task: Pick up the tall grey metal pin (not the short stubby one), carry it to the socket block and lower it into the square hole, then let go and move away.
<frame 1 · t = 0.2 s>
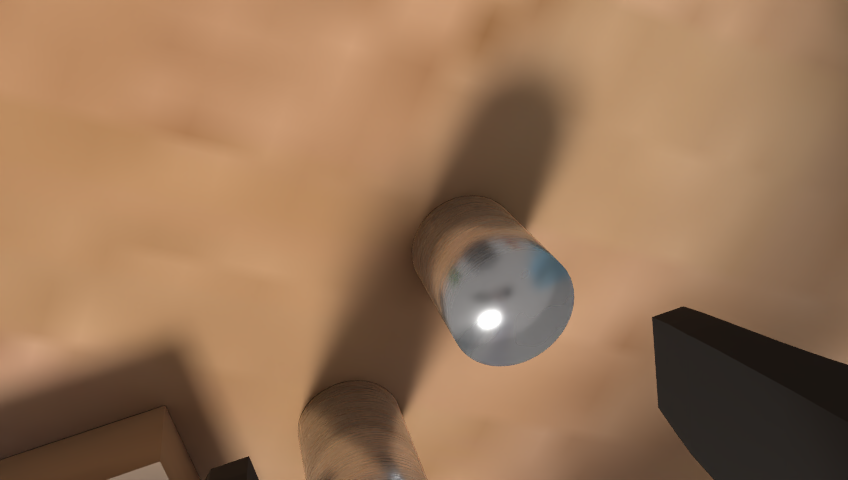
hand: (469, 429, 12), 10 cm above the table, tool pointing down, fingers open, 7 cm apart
short pin: (465, 247, 22), on the table
long pin: (350, 424, 23), on the table
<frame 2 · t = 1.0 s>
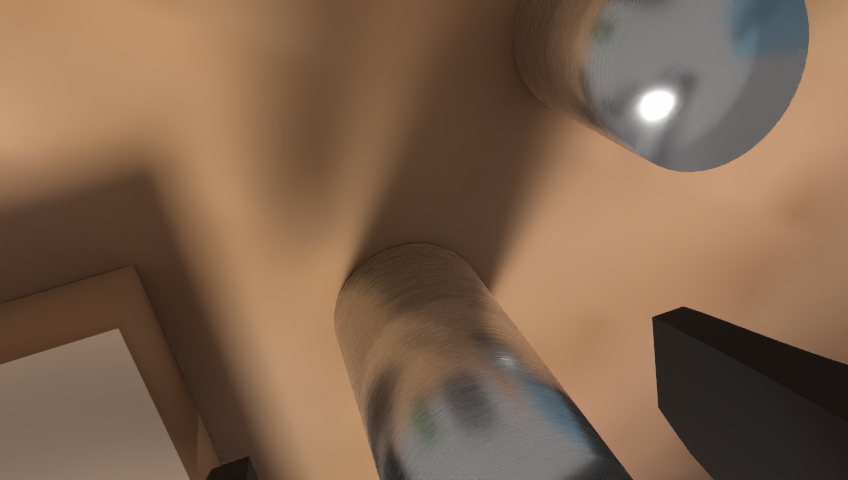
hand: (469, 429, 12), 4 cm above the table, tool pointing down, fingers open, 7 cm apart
short pin: (591, 32, 15), on the table
long pin: (410, 313, 16), on the table
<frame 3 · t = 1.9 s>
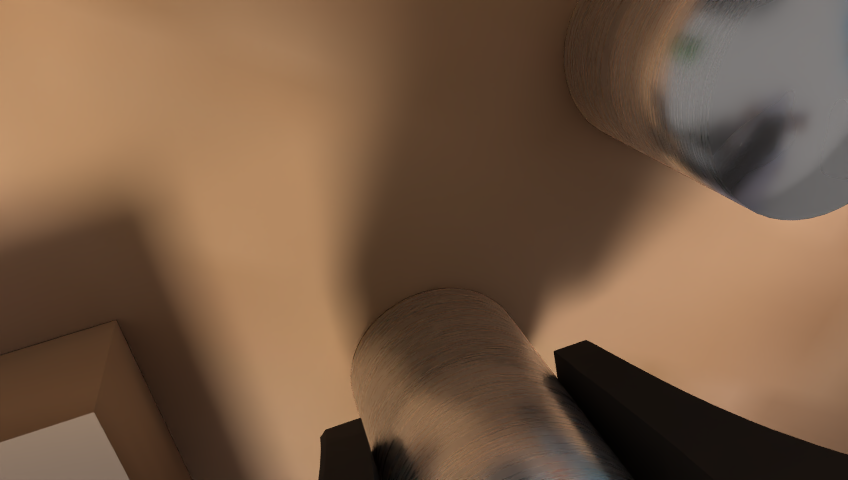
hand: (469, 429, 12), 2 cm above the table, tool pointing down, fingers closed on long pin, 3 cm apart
short pin: (654, 44, 12), on the table
long pin: (437, 367, 14), on the table, touching gripper
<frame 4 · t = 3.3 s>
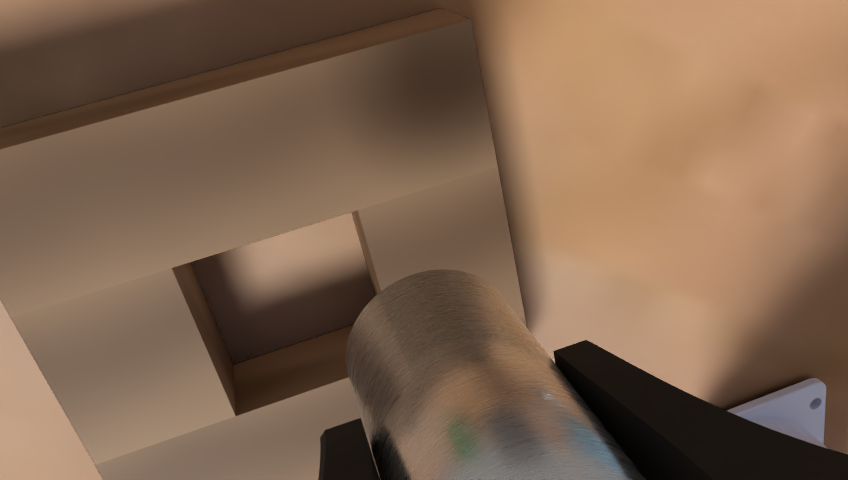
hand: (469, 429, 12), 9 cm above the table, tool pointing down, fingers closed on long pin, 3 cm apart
socket block: (285, 274, 20), on the table
long pin: (432, 348, 14), point 7 cm above the table, touching gripper
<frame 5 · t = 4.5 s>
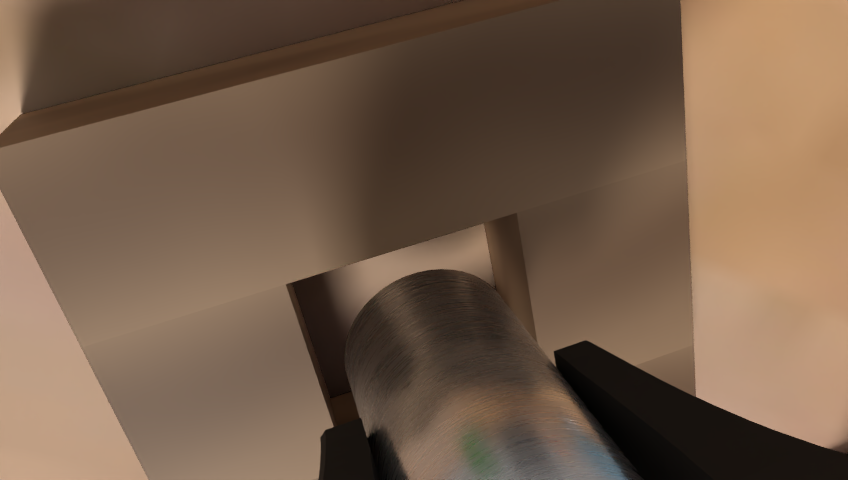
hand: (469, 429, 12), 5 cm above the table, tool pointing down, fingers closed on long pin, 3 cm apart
socket block: (399, 290, 17), on the table
long pin: (430, 348, 14), point 3 cm above the table, touching gripper
when the fingers open (3 cm above the table, at t = 5.8 s): long pin stays where it is, resting in socket block.
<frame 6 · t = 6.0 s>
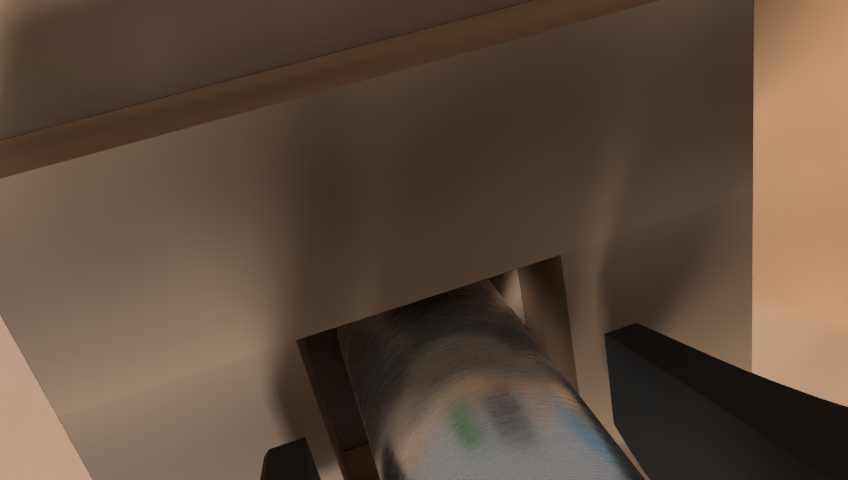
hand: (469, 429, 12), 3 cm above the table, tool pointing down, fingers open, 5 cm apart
socket block: (420, 333, 15), on the table
long pin: (418, 322, 15), resting in socket block
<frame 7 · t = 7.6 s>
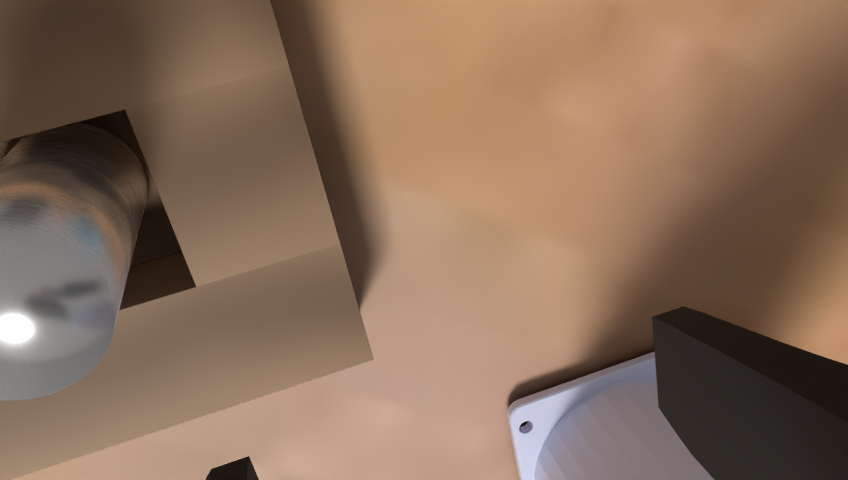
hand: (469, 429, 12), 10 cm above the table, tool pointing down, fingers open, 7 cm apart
socket block: (80, 195, 19), on the table
long pin: (77, 186, 18), resting in socket block
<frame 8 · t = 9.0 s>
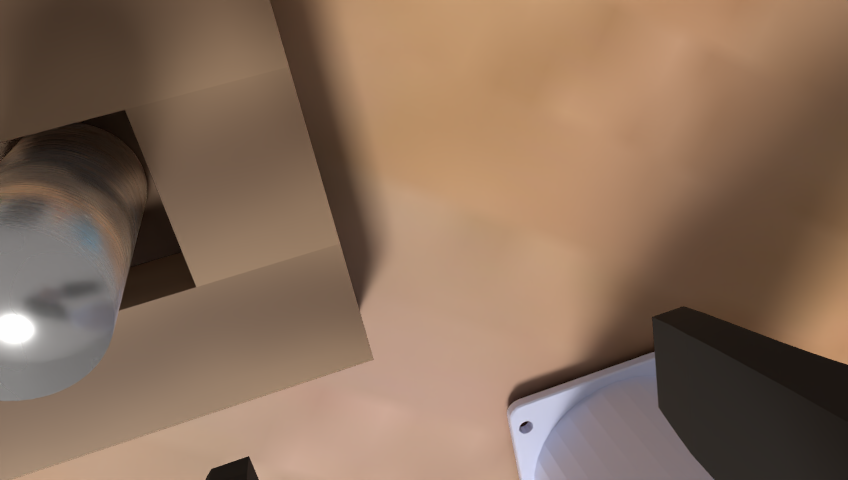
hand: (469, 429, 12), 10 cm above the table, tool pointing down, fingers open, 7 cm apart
socket block: (80, 196, 19), on the table
long pin: (77, 186, 18), resting in socket block
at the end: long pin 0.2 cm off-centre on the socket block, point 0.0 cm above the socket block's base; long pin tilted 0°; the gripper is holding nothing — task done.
